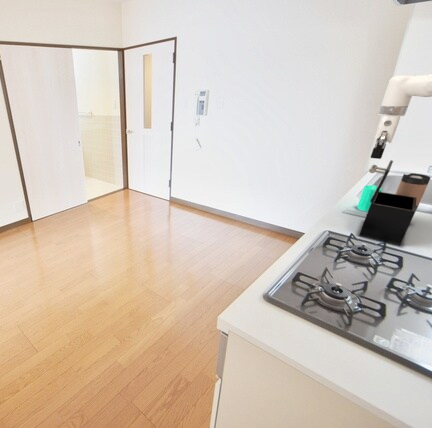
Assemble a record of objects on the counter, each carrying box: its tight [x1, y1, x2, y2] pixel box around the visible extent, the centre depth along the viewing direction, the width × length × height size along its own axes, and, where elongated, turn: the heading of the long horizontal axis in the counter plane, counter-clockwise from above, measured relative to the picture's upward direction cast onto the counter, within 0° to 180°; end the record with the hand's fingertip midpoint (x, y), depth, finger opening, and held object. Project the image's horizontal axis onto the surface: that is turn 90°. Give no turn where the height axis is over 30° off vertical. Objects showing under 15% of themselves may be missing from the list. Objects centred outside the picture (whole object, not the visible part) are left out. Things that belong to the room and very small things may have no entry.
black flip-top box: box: [358, 191, 417, 247], centre depth 107 cm, size 12×17×14 cm
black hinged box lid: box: [368, 160, 394, 203], centre depth 106 cm, size 12×17×5 cm
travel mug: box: [395, 172, 431, 210], centre depth 113 cm, size 8×8×20 cm
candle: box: [356, 184, 383, 212], centre depth 127 cm, size 6×6×12 cm
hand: (376, 155), depth 113 cm, fingers open, 9 cm apart
